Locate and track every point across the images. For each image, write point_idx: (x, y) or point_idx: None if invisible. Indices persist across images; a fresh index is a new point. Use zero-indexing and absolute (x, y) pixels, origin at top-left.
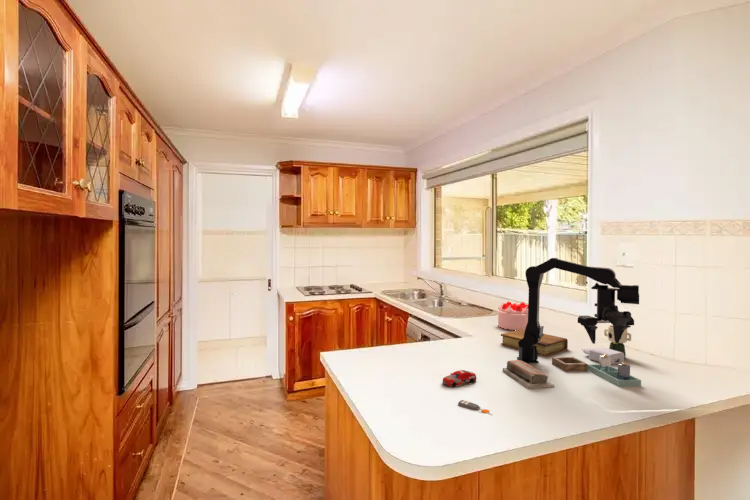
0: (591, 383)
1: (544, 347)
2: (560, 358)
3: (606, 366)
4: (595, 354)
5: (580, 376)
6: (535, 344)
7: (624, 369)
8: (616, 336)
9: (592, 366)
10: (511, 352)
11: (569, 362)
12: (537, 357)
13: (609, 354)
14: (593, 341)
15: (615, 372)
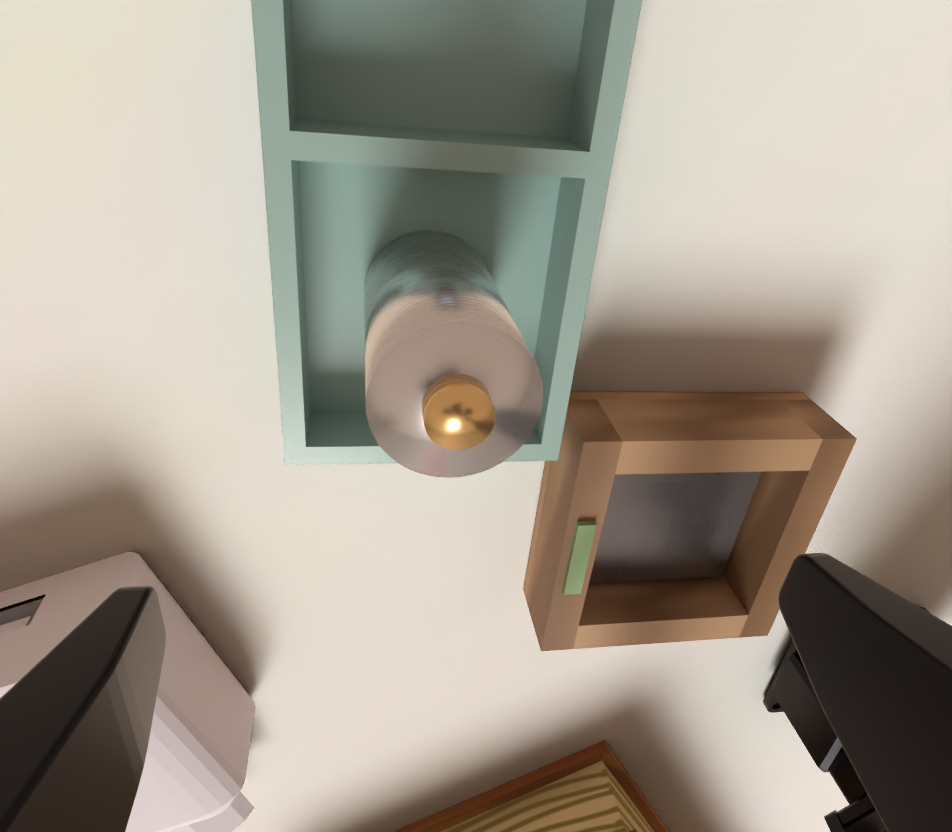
0: (852, 6)
1: (624, 827)
2: (703, 613)
3: (470, 272)
4: (213, 723)
5: (757, 262)
6: (835, 812)
7: None
8: (89, 810)
9: (553, 388)
10: (788, 787)
11: (605, 576)
12: (799, 671)
13: None
14: (874, 590)
15: (401, 139)
